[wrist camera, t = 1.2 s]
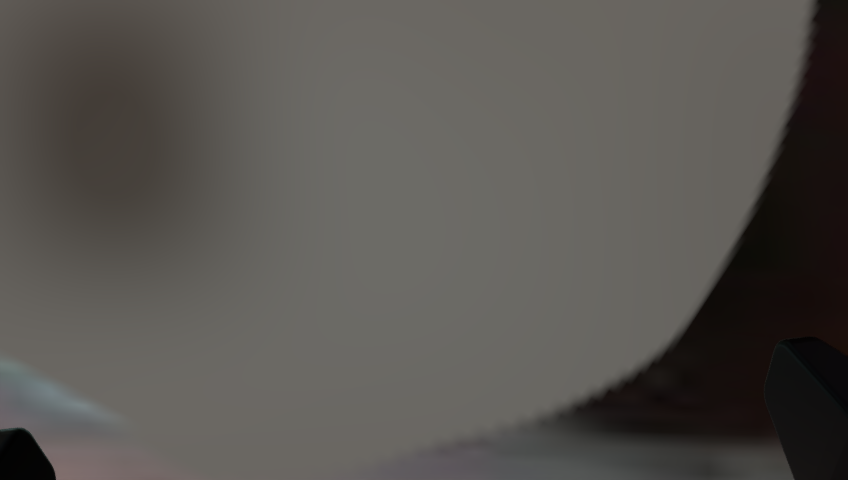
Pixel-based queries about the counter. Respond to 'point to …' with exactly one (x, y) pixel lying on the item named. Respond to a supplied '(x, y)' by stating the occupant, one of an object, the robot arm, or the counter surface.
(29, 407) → the counter surface
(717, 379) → the counter surface
